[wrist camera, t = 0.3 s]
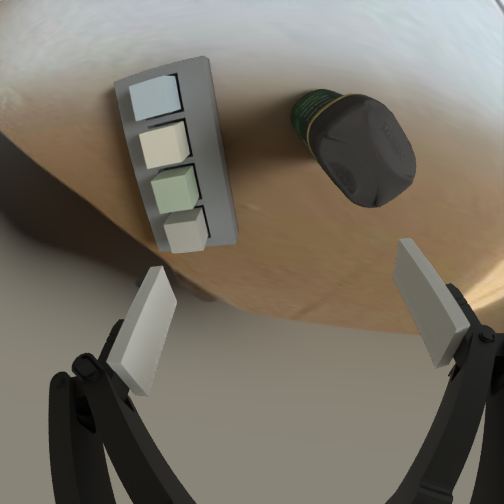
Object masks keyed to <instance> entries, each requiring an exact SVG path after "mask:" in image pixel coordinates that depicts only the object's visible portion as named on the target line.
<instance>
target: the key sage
mask: <svg viewBox="0 0 504 504" xmlns="http://www.w3.org/2000/svg"><path fill="white" fill-rule="evenodd" d="M151 184H152V188H153V191H154V195H155V199H156V202H157V205H158V209H159V212H160V214H163V213H169V212H176V211H183V210H190V209H193V208H194V206H195V204H196V202H197V200H198V198H199V193H198V188H197V184H196V179H195V175H194V170H193V166H187V167H181V168H176V169H170V170H165V171H161V172H160V173H159V174H158V175H157V176H156V177H155V178H154V179H153V180H152V181H151Z"/></svg>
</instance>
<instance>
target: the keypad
mask: <svg viewBox="0 0 504 504" xmlns="http://www.w3.org/2000/svg"><path fill="white" fill-rule="evenodd" d="M164 75H166V76H175V79H176V84H177V90H178V95H179V101H180V106H181V109H179V110H176V111H173V112H169V113H165V114H161V115H157V116H153V117H150V118H146V119H143V120H139V121H136V119H135V115H134V110H133V105H132V100H131V95H130V90H129V86H132V85H135V84H138V83H141V82H144V81H147V80H150V79H154V78H157V77H161V76H164ZM114 86H115V91H116V96H117V101H118V106H119V111H120V115H121V120H122V124H123V129H124V133H125V137H126V141H127V145H128V149H129V153H130V157H131V161H132V165H133V168H134V172H135V176H136V179H137V183H138V186H139V190H140V193H141V196H142V200H143V203H144V206H145V209H146V213H147V216H148V219H149V222H150V225H151V228H152V231H153V234H154V237H155V240H156V243H157V246H158V249H159V252H163V251H171V248H170V244H169V241H168V238H167V235H166V232H165V229H164V223H165V222H166V220H167V218H168V217H169V215H170V214H171V212H169V213H163V214H160V212H159V209H158V205H157V202H156V199H155V195H154V191H153V188H152V184H151V181H152V180H153V179H154V178H155V177H156V176H157V175H158V174H159V173H160V172H161V171H165V170H170V169H176V168H181V167H187V166H193V170H194V175H195V179H196V184H197V188H198V193H199V198H198V200H197V202H196V204H195V206H194V208H200V207H202V210H203V215H204V219H205V223H206V227H207V232H208V238H207V241H206V244H205V247H211V246H221V245H231V244H237V237H238V225H237V219H236V213H235V208H234V202H233V197H232V191H231V185H230V180H229V174H228V168H227V162H226V157H225V151H224V145H223V139H222V133H221V128H220V122H219V116H218V110H217V104H216V98H215V92H214V86H213V80H212V74H211V68H210V62H209V59H208V58H206V57H204V56H200V57H195V58H191V59H187V60H182V61H178V62H175V63H171V64H167V65H164V66H160V67H157V68H153V69H150V70H147V71H144V72H141V73H138V74H135V75H132V76H129V77H126V78H123V79H121V80H118V81H115V82H114ZM181 121H183V122H184V127H185V132H186V137H187V142H188V147H189V151H190V154H189V155H188V156H187V157H186V158H185V159H184V160H183V161H182V162H180V163H174V164H169V165H164V166H159V167H155V168H150V169H147V166H146V162H145V158H144V154H143V150H142V146H141V141H140V137H139V134H140V133H143V132H145V131H147V130H149V129H151V128H155V127H159V126H163V125H168V124H172V123H176V122H181Z"/></svg>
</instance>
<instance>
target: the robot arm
mask: <svg viewBox="0 0 504 504" xmlns="http://www.w3.org/2000/svg"><path fill="white" fill-rule="evenodd" d="M393 280H394V282H395V284H396V286H397V288H398V290H399V292H400V293H401V295H402V297H403V299H404V301H405V303H406V305H407V307H408V309H409V311H410V313H411V315H412V317H413V319H414V321H415V324H416V326H417V328H418V330H419V332H420V334H421V336H422V339H423V341H424V343H425V345H426V348H427V350H428V352H429V354H430V357H431V359H432V362H433V364H434V366H435V369H436V368H439V367H443V366H446V365H448V364H449V363H450V361H451V359H452V358H453V357H454V360H455V362H456V363H455V365H454V366H453V368H452V370H451V371H450V373H449V375H448V376H450V375H451V376H450V379H449V382H448V385H447V388H446V391H445V394H444V397H443V399H442V402H441V404H440V407H439V409H438V412H437V414H436V416H435V419H434V421H433V423H432V426H431V428H430V430H429V432H428V435H427V437H426V439H425V441H424V443H423V445H422V447H421V449H420V451H419V453H418V455H417V456H416V458H415V460H414V462H413V464H412V466H411V467H410V469H409V471H408V473H407V474H406V476H405V478H404V479H403V481H402V483H401V484H400V486H399V487H398V489H397V491H396V492H395V493H394V494H393V496H392V497H391V498H390V499H389V500H388V501H387V502H386V503H385V504H452V502H453V496H452V491H453V489H454V487H455V484H456V482H457V480H458V478H459V476H460V474H461V472H462V469H463V467H464V464H465V462H466V460H467V457H468V455H469V452H470V450H471V447H472V444H473V442H474V439H475V436H476V433H477V430H478V427H479V424H480V420H481V417H482V414H483V410H484V406H485V403H486V410H485V424H484V434H483V443H482V450H481V456H480V462H479V468H478V472H477V477H476V482H475V486H474V490H473V494H472V498H471V501H470V504H504V333H495V331H494V330H493V329H492V328H490V327H489V326H486V325H482V324H481V323H480V321H479V320H478V318H477V316H476V315H475V313H474V312H473V310H472V309H471V307H470V305H469V304H467V301H466V299H465V298H464V296H463V295H462V293H461V292H460V291H459V289H458V288H456V287H455V286H454V285H453V284H451V283H450V284H446V285H445V284H444V282H443V281H442V279H441V278H440V277H439V275H438V274H437V272H436V271H435V269H434V268H433V267H432V265H431V264H430V263H429V261H428V260H427V258H426V257H425V256H424V254H423V253H422V252H421V251H420V249H419V248H418V247H417V245H416V244H415V243H414V241H413V240H412V239H411V238H405V239H399V243H398V250H397V257H396V263H395V269H394V275H393ZM176 304H177V301H176V298H175V296H174V294H173V291H172V289H171V286H170V284H169V281H168V279H167V276H166V274H165V272H164V269H163V267H162V266H158V267H151V268H150V270H149V271H148V273H147V275H146V277H145V279H144V281H143V283H142V285H141V287H140V289H139V291H138V293H137V295H136V297H135V299H134V301H133V303H132V305H131V307H130V310H129V312H128V314H127V316H126V318H125V319H119V321H118V322H117V323H116V324H115V325H114V326H113V328H112V330H111V332H110V334H109V336H108V338H107V342H106V343H105V345H104V347H103V349H102V351H101V354H100V356H99V358H98V360H97V359H96V358H95V357H94V356H93V355H92V354H90V353H84V354H81V355H80V356H79V357H77V358H76V359H75V361H74V362H73V364H72V371H73V373H74V374H75V375H76V376H75V377H70V376H69V375H68V374H67V373H66V372H59V373H57V374H55V375H54V376H53V378H52V379H51V382H50V389H49V452H50V465H51V475H52V483H53V490H54V496H55V502H56V504H116V501H115V498H114V494H113V490H112V487H111V482H110V478H109V473H108V469H107V464H106V458H105V453H104V447H103V444H104V446H105V448H106V451H107V453H108V455H109V457H110V460H111V462H112V464H113V466H114V468H115V470H116V472H117V474H118V476H119V478H120V480H121V482H122V484H123V486H124V488H125V489H126V491H127V493H128V495H129V497H130V499H131V500H132V502H133V504H196V503H195V501H194V500H193V499H192V497H191V496H190V495H189V494H188V492H187V491H186V490H185V488H184V487H183V485H182V484H181V483H180V481H179V480H178V479H177V477H176V475H175V474H174V473H173V471H172V470H171V468H170V467H169V465H168V464H167V462H166V461H165V459H164V457H163V456H162V454H161V453H160V451H159V449H158V448H157V446H156V444H155V443H154V441H153V439H152V438H151V436H150V434H149V432H148V431H147V429H146V427H145V425H144V423H143V422H142V420H141V418H140V416H139V414H138V412H137V410H136V408H135V407H134V404H133V402H132V400H131V399H130V397H129V396H128V392H129V389H130V390H131V391H132V392H133V393H134V394H135V395H139V396H149V393H150V390H151V386H152V383H153V379H154V376H155V372H156V369H157V365H158V362H159V358H160V355H161V352H162V348H163V345H164V342H165V339H166V335H167V332H168V329H169V325H170V322H171V320H172V316H173V313H174V310H175V307H176Z"/></svg>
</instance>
